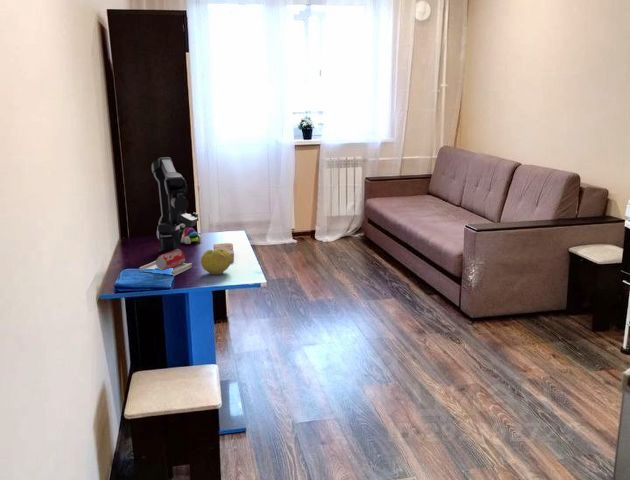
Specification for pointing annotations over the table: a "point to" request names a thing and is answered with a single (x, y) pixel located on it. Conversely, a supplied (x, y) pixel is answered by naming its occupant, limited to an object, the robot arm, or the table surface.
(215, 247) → the brick
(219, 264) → the fruit
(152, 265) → the tray
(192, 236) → the multicoloured layered toy figurine
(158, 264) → the beverage can
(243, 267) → the table surface
